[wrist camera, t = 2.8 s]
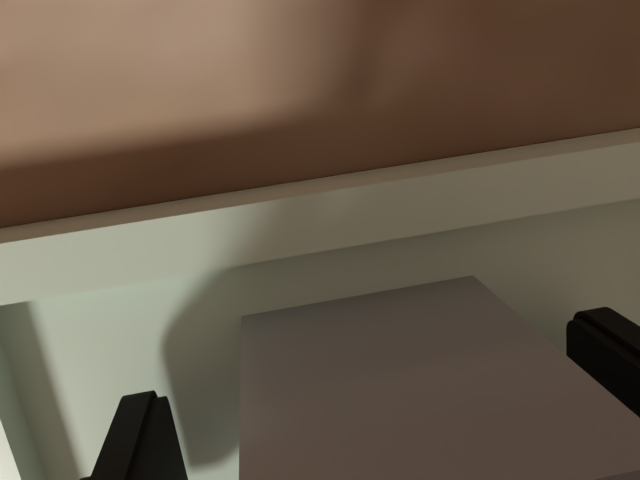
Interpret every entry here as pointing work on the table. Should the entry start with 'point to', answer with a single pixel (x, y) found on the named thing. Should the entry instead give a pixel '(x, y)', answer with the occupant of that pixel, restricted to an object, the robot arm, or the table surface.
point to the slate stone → (422, 394)
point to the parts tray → (288, 283)
